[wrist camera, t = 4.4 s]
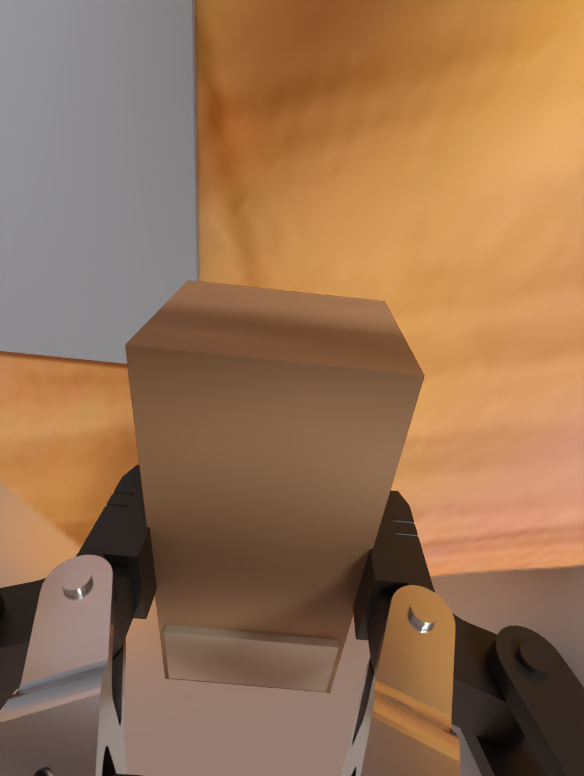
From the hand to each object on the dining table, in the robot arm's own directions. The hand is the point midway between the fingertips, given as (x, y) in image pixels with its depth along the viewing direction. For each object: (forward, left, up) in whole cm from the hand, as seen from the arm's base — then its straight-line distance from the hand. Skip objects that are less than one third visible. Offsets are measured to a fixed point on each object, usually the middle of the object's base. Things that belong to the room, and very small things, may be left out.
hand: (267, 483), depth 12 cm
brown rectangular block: (0, 0, -1) cm, 1 cm away
